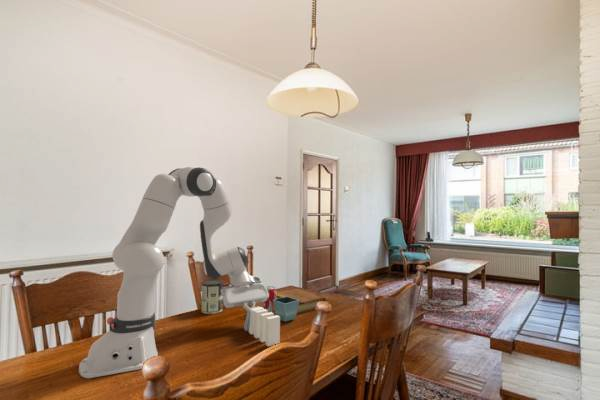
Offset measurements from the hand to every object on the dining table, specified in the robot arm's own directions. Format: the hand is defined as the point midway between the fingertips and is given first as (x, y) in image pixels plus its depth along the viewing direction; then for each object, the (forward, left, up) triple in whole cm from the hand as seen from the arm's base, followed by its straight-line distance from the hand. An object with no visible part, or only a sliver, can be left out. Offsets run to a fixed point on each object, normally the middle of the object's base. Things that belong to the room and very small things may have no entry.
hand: (251, 312), depth 134 cm
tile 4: (0, -17, -7) cm, 18 cm away
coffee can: (-4, +34, -8) cm, 35 cm away
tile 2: (0, -8, -7) cm, 11 cm away
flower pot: (+19, +3, -8) cm, 21 cm away
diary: (+37, +18, -8) cm, 42 cm away
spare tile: (0, +1, -7) cm, 7 cm away
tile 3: (0, -12, -7) cm, 14 cm away
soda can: (+18, +16, -8) cm, 25 cm away
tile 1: (0, -3, -7) cm, 8 cm away
